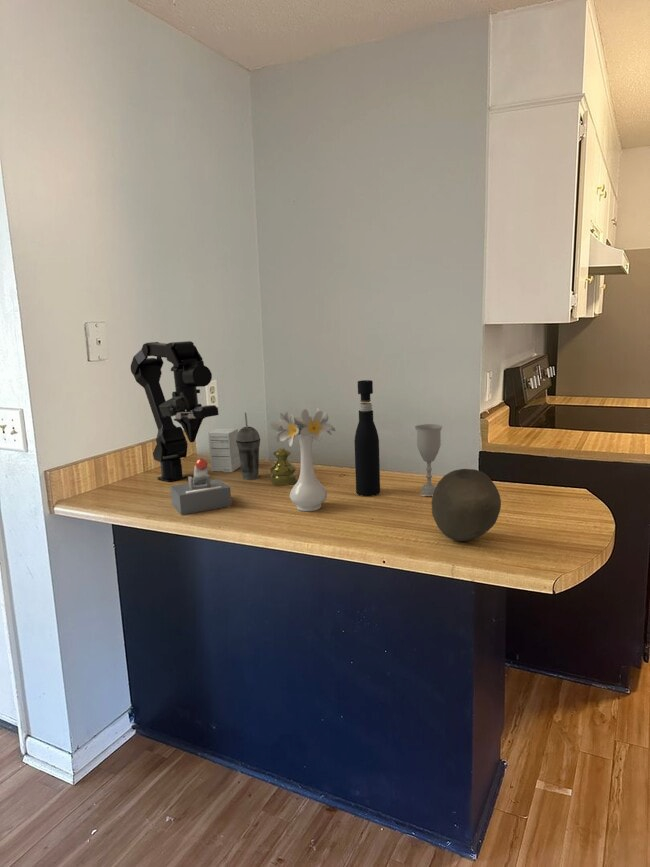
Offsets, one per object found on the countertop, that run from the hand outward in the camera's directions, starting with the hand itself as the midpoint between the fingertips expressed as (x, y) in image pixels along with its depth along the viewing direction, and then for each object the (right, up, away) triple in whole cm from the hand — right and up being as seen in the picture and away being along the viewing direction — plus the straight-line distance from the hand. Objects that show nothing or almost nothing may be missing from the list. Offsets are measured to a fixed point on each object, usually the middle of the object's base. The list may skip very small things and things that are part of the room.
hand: (192, 442), depth 177 cm
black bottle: (+49, -14, -9) cm, 52 cm away
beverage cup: (+15, -11, +11) cm, 22 cm away
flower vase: (+33, -16, -20) cm, 42 cm away
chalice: (+65, -14, -13) cm, 67 cm away
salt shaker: (+26, -12, +5) cm, 29 cm away
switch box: (+6, -16, -14) cm, 22 cm away
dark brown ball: (+67, -20, -46) cm, 84 cm away
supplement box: (+6, -9, +23) cm, 26 cm away
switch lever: (+5, -10, -16) cm, 19 cm away
